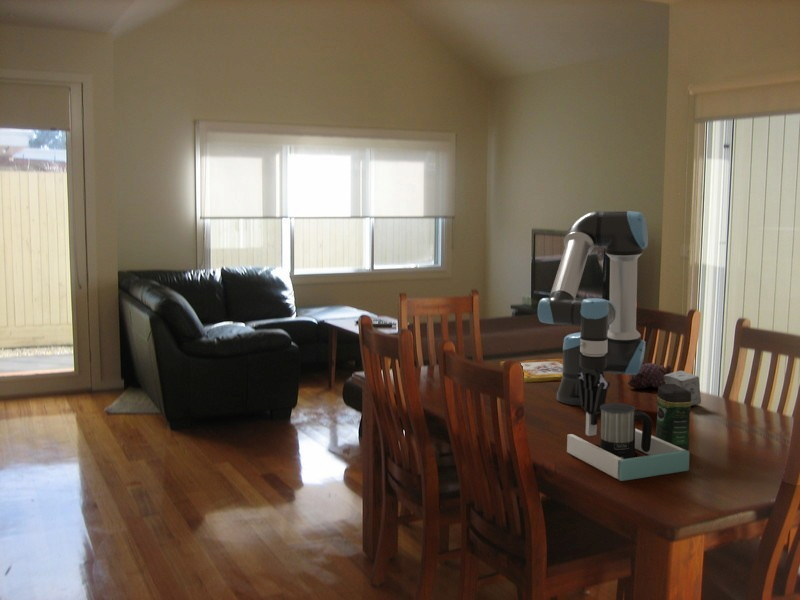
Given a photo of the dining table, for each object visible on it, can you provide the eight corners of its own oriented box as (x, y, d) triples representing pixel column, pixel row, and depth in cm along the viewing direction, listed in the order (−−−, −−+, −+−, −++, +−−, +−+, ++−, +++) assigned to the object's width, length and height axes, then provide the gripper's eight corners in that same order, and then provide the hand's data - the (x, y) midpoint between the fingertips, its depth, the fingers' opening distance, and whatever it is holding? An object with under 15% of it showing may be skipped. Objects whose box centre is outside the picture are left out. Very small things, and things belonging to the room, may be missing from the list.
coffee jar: (693, 455, 230) (696, 389, 228) (665, 457, 229) (668, 390, 227) (677, 445, 240) (680, 381, 237) (650, 446, 239) (653, 381, 236)
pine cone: (638, 393, 298) (626, 367, 301) (629, 400, 307) (617, 375, 310) (682, 377, 301) (670, 352, 304) (672, 385, 310) (660, 360, 313)
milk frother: (611, 468, 221) (612, 413, 219) (578, 450, 235) (579, 398, 233) (656, 462, 225) (658, 408, 223) (621, 444, 240) (623, 394, 238)
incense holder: (662, 401, 287) (663, 371, 285) (682, 399, 289) (684, 369, 288) (680, 409, 278) (681, 378, 276) (701, 406, 280) (702, 376, 279)
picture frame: (562, 358, 349) (593, 374, 319) (562, 363, 349) (592, 380, 320) (499, 361, 343) (525, 378, 314) (499, 366, 344) (525, 383, 314)
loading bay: (566, 452, 234) (567, 434, 233) (630, 443, 241) (630, 426, 241) (621, 481, 211) (621, 461, 210) (688, 470, 219) (689, 451, 218)
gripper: (569, 350, 243) (567, 429, 246) (596, 359, 231) (593, 442, 234) (590, 348, 245) (588, 426, 249) (618, 357, 233) (616, 439, 237)
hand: (591, 434), depth 241 cm, fingers closed
